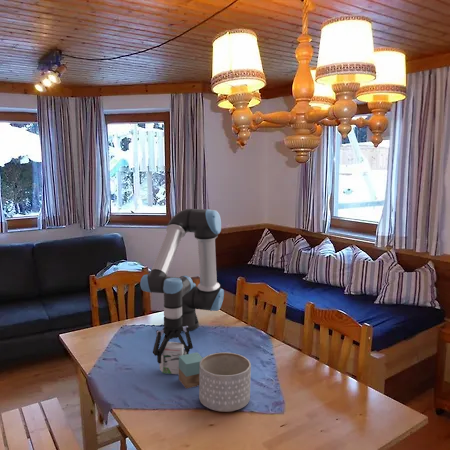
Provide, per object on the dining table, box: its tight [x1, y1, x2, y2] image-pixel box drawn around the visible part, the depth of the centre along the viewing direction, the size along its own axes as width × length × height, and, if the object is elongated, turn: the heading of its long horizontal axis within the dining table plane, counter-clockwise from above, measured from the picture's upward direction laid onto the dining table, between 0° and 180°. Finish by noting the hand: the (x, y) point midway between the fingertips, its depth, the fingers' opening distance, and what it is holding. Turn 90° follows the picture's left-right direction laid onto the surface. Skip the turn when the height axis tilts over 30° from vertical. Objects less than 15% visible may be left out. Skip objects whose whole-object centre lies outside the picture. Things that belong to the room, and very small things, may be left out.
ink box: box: [161, 341, 185, 375], centre depth 175 cm, size 9×5×12 cm, turn 84°
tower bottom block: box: [178, 369, 199, 389], centre depth 168 cm, size 8×8×5 cm
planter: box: [198, 351, 252, 413], centre depth 154 cm, size 19×19×14 cm
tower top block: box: [179, 351, 203, 377], centre depth 167 cm, size 8×8×5 cm
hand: (173, 367), depth 176 cm, fingers closed on ink box, 9 cm apart
